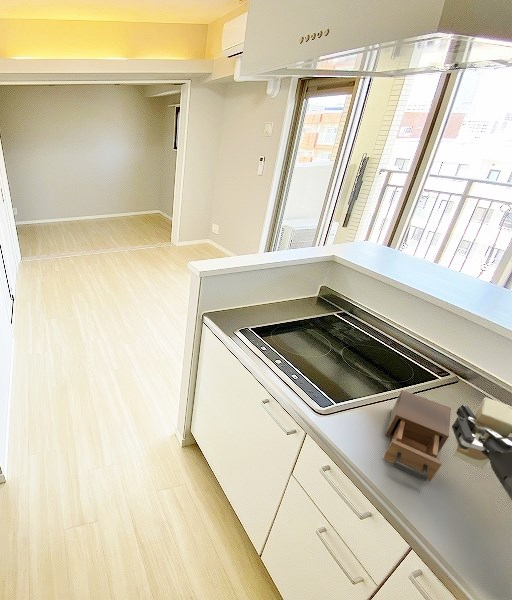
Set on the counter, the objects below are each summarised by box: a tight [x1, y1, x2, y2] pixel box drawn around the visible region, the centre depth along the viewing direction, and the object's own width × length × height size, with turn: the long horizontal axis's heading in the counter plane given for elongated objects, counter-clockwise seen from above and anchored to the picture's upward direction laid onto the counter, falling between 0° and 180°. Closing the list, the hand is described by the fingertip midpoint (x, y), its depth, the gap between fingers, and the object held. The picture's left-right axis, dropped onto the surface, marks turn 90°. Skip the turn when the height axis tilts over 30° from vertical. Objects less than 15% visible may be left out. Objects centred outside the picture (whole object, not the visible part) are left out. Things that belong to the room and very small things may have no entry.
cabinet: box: [385, 389, 452, 454], centre depth 83 cm, size 12×10×8 cm
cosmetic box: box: [452, 396, 512, 470], centre depth 63 cm, size 6×4×12 cm
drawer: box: [382, 420, 443, 482], centre depth 75 cm, size 15×8×6 cm, turn 136°
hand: (484, 413), depth 64 cm, fingers closed on cosmetic box, 6 cm apart
